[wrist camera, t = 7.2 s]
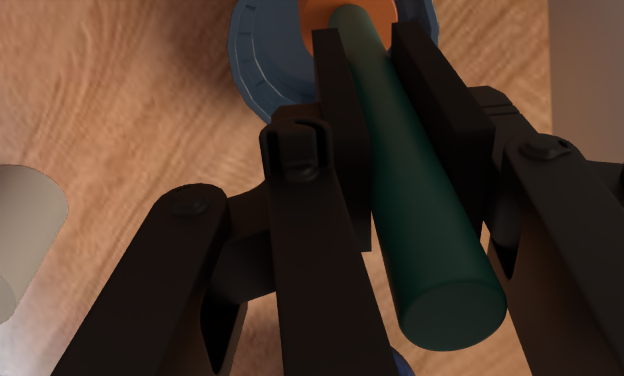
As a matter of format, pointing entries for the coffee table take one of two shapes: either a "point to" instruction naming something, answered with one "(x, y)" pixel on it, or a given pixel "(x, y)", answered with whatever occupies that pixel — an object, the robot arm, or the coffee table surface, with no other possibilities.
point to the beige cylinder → (25, 229)
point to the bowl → (287, 51)
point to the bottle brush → (411, 192)
